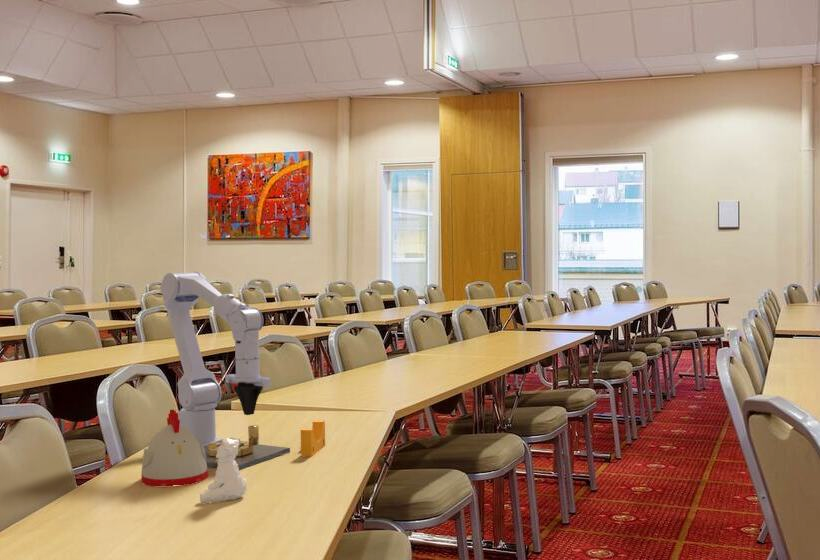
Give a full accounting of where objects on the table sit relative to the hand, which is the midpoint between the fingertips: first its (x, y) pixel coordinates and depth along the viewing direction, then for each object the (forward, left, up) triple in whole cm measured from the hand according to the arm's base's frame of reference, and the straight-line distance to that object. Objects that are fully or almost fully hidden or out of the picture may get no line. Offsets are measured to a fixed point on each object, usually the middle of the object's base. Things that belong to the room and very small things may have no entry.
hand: (249, 414), depth 222 cm
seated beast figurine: (+21, -34, -10) cm, 41 cm away
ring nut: (-1, -6, -8) cm, 10 cm away
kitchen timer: (+1, -27, -10) cm, 29 cm away
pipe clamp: (+13, +7, -10) cm, 17 cm away
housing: (-1, -6, -9) cm, 11 cm away
